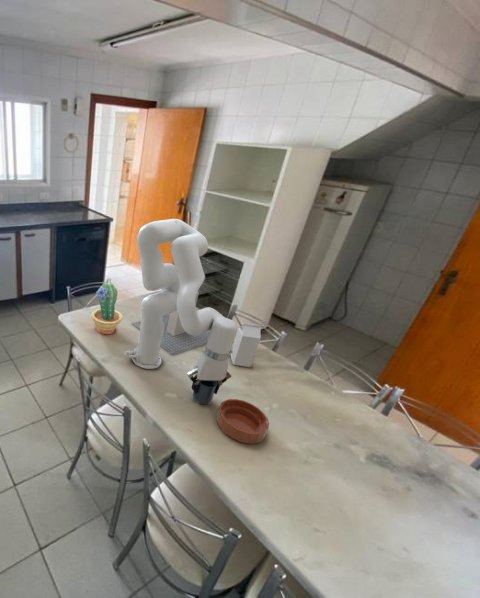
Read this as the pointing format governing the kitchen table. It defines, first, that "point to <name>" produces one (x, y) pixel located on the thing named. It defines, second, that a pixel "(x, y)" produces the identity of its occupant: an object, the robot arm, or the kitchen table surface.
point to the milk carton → (246, 344)
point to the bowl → (242, 421)
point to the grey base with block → (179, 334)
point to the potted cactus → (106, 309)
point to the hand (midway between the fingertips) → (204, 390)
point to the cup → (205, 391)
